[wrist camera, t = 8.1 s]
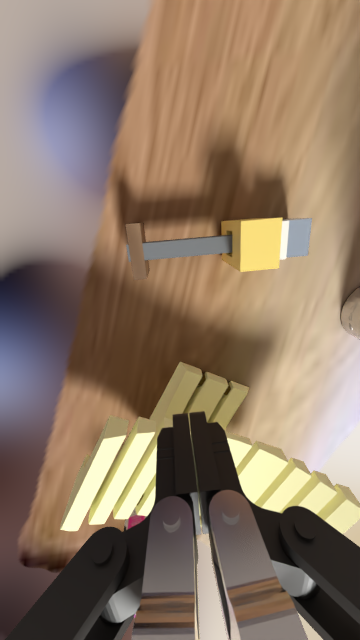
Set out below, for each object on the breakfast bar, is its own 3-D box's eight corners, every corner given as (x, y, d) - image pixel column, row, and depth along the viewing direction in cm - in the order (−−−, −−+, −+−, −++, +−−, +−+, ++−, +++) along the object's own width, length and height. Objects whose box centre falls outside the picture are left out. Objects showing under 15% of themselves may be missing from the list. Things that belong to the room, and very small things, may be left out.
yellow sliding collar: (252, 218, 31) (282, 217, 23) (251, 257, 33) (278, 268, 25) (221, 221, 31) (241, 221, 23) (221, 259, 33) (240, 271, 25)
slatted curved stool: (96, 418, 42) (53, 545, 26) (129, 342, 37) (103, 439, 21) (243, 462, 49) (285, 586, 32) (289, 402, 44) (366, 512, 27)
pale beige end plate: (273, 220, 30) (289, 220, 26) (271, 254, 31) (286, 259, 27) (265, 221, 30) (280, 221, 26) (263, 255, 31) (277, 259, 27)
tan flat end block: (143, 222, 31) (139, 223, 26) (149, 270, 33) (146, 278, 28) (131, 223, 31) (125, 224, 26) (138, 271, 33) (133, 280, 28)
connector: (288, 218, 32) (311, 218, 27) (285, 250, 33) (307, 255, 28) (265, 220, 32) (285, 220, 27) (263, 252, 33) (282, 257, 28)
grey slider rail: (297, 228, 29) (305, 229, 27) (296, 244, 30) (304, 246, 28) (128, 243, 28) (126, 245, 27) (130, 259, 29) (128, 261, 27)
